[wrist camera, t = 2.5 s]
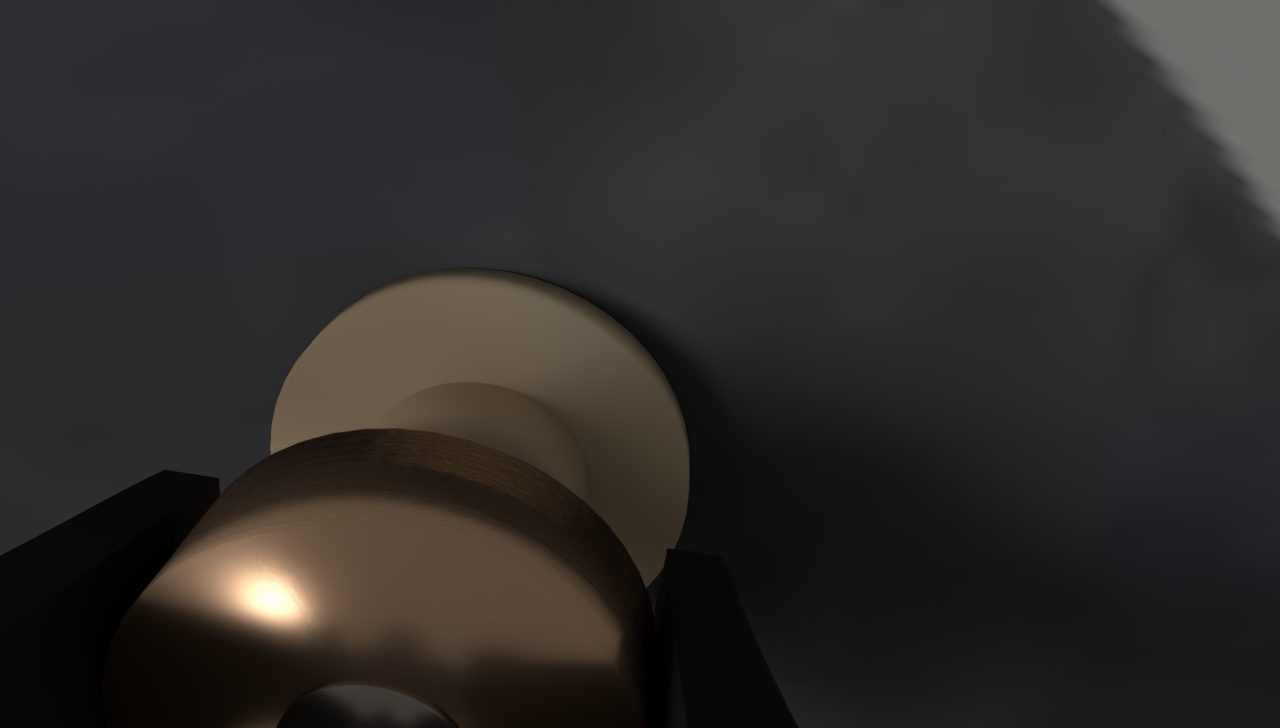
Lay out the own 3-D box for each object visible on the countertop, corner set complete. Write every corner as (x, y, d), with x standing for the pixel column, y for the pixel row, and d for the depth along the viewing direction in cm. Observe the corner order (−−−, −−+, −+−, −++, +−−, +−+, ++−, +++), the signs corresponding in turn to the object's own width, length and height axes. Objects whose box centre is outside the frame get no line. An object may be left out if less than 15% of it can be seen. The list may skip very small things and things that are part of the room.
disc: (622, 824, 11) (608, 970, 10) (201, 760, 11) (123, 895, 10) (692, 472, 9) (690, 588, 8) (170, 390, 9) (62, 491, 8)
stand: (656, 640, 15) (643, 845, 11) (291, 585, 15) (177, 774, 11) (724, 305, 12) (729, 450, 9) (283, 236, 12) (135, 357, 9)
